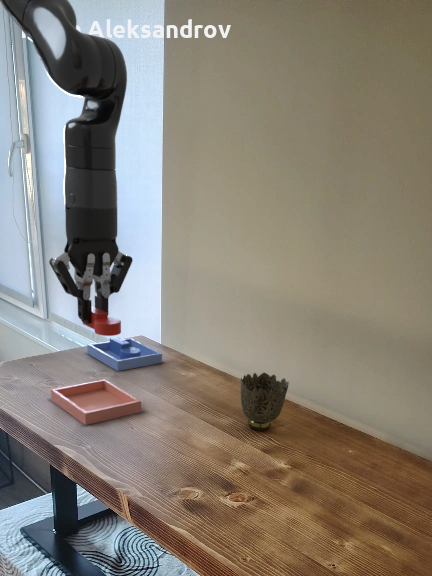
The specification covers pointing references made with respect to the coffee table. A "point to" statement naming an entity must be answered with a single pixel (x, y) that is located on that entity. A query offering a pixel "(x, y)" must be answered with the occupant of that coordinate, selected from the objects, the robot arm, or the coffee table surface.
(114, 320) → the red stepped block
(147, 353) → the blue tray
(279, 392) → the cup
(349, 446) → the coffee table surface
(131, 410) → the red tray
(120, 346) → the blue rounded block
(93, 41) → the robot arm
